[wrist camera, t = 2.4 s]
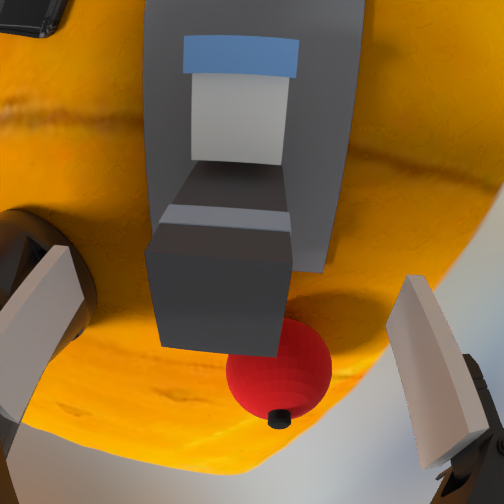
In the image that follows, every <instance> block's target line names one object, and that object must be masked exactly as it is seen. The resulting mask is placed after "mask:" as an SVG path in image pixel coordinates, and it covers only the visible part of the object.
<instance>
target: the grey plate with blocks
mask: <svg viewBox="0 0 504 504" xmlns="http://www.w3.org/2000/svg"><path fill="white" fill-rule="evenodd" d="M364 8H365V0H145V14H144V38H143V116H144V141H145V158H146V173H147V186H148V198H149V209H150V218H151V228H152V237H153V235H154V233H155V231H156V230H157V228H158V226H159V221H160V219H161V217H162V215H163V214H164V212H165V210H166V209H167V207H168V205H169V204H172V202H173V200H174V199H175V197H176V195H177V194H178V192H179V190H180V189H181V187H182V186H183V184H184V182H185V181H186V179H187V177H188V176H189V174H190V173H191V171H192V169H193V168H194V166H195V165H196V163H197V162H198V160H208V161H228V162H245V163H259V164H272V165H281V161H282V168H283V176H284V185H285V193H286V202H287V211H288V212H289V214H290V222H291V248H292V258H293V266H292V271H301V272H315V273H323V269H324V265H325V261H326V256H327V252H328V247H329V243H330V238H331V233H332V229H333V224H334V219H335V214H336V209H337V204H338V199H339V194H340V188H341V183H342V177H343V172H344V166H345V160H346V155H347V149H348V142H349V136H350V130H351V123H352V116H353V109H354V102H355V95H356V87H357V79H358V71H359V62H360V53H361V43H362V32H363V21H364Z"/></svg>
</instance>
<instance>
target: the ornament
mask: <svg viewBox="0 0 504 504" xmlns="http://www.w3.org/2000/svg"><path fill="white" fill-rule="evenodd" d="M331 376H332V360H331V357H330V353H329V350H328V348H327V346H326V344H325V342H324V341H323V339H322V338H321V337H320V336H319V334H317V333H316V332H315V331H314V330H313V329H312V328H310V327H309V326H307V325H305V324H303V323H301V322H299V321H296V320H293V319H287V318H284V319H283V324H282V330H281V335H280V341H279V346H278V351H277V356H276V357H262V356H247V355H234V354H229V355H228V359H227V363H226V377H227V382H228V386H229V389H230V391H231V393H232V394H233V396H234V398H235V400H236V401H237V402H238V403H239V404H240V405H241V406H242V407H243V408H244V409H245V410H246V411H248V412H250V413H251V414H253V415H255V416H257V417H259V418H262V419H267V420H268V425H269V426H270V427H271V428H274V429H285V428H287V427H288V426H289V425H290V424H291V419H294V418H297V417H300V416H302V415H304V414H306V413H307V412H309V411H310V410H312V409H313V408H314V407H315V406H316V405H317V404H318V403H319V402H320V401H321V400H322V398H323V397H324V395H325V393H326V392H327V390H328V387H329V384H330V381H331Z"/></svg>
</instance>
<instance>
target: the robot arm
mask: <svg viewBox="0 0 504 504" xmlns="http://www.w3.org/2000/svg"><path fill="white" fill-rule="evenodd" d="M96 304H97V295H96V289H95V285H94V281H93V279H92V276H91V274H90V271H89V269H88V267H87V266H86V264H85V262H84V260H83V259H82V257H81V256H80V254H79V253H78V252H77V250H76V249H75V248H74V246H73V245H72V244H71V243H70V242H69V241H68V240H67V239H66V238H65V237H64V236H63V235H62V234H61V233H60V232H59V231H58V230H57V229H56V228H54V227H53V226H52V225H50V224H49V223H48V222H46V221H44V220H43V219H41V218H39V217H37V216H35V215H33V214H30V213H28V212H24V211H19V210H9V211H4V212H2V213H0V504H19V502H18V499H17V496H16V493H15V490H14V487H13V484H12V481H11V477H10V474H9V470H8V467H7V462H6V459H7V456H8V453H9V451H10V448H11V445H12V443H13V440H14V437H15V435H16V433H17V430H18V427H19V425H20V423H21V420H22V418H23V416H24V413H25V411H26V409H27V406H28V404H29V402H30V400H31V397H32V395H33V393H34V391H35V389H36V386H37V384H38V382H39V380H40V378H41V376H42V374H43V372H44V370H45V368H46V366H47V365H48V363H49V362H50V361H51V360H53V359H54V358H55V357H56V356H57V355H58V354H59V353H60V352H61V351H62V350H63V349H64V348H65V347H66V346H67V345H68V344H69V343H70V342H71V341H73V340H75V339H76V338H78V337H79V336H80V335H81V334H82V333H83V332H84V331H85V329H86V328H87V326H88V324H89V322H90V320H91V318H92V316H93V314H94V312H95V309H96ZM385 327H386V330H387V333H388V336H389V340H390V343H391V346H392V350H393V353H394V357H395V360H396V364H397V367H398V371H399V374H400V378H401V382H402V385H403V389H404V393H405V397H406V401H407V405H408V409H409V413H410V418H411V422H412V427H413V431H414V435H415V440H416V445H417V450H418V455H419V460H420V466H421V470H426V469H432V468H436V467H440V466H442V465H443V464H444V463H446V462H447V461H449V460H451V465H452V466H451V467H449V468H448V469H447V470H445V471H443V472H442V473H440V474H439V475H438V476H437V478H436V480H439V479H441V478H442V477H444V478H443V480H442V481H441V484H440V486H439V488H438V490H437V492H436V494H435V496H434V497H433V499H432V501H431V503H430V504H504V428H503V427H502V424H501V422H500V419H499V416H498V413H497V411H496V408H495V405H494V402H493V400H492V397H491V395H490V392H489V390H487V384H486V382H485V380H483V375H482V372H481V370H480V368H479V365H478V364H477V363H476V361H475V360H474V359H473V358H472V357H471V355H470V354H462V353H461V351H460V349H459V347H458V344H457V342H456V340H455V338H454V335H453V333H452V331H451V329H450V327H449V325H448V323H447V321H446V319H445V317H444V315H443V312H442V310H441V308H440V306H439V304H438V302H437V300H436V298H435V296H434V294H433V292H432V290H431V289H430V287H429V285H428V283H427V281H426V279H425V277H424V276H422V275H407V276H406V278H405V281H404V283H403V286H402V288H401V291H400V293H399V295H398V298H397V300H396V302H395V305H394V307H393V309H392V312H391V314H390V316H389V318H388V321H387V323H386V325H385Z"/></svg>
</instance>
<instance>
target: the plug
mask: <svg viewBox="0 0 504 504" xmlns="http://www.w3.org/2000/svg"><path fill="white" fill-rule="evenodd" d="M144 253H145V260H146V267H147V273H148V279H149V285H150V291H151V296H152V302H153V307H154V312H155V317H156V322H157V327H158V332H159V337H160V342H161V346H162V347H169V348H177V349H185V350H194V351H203V352H213V353H223V354H234V355H247V356H262V357H276V356H277V351H278V346H279V341H280V335H281V330H282V324H283V319H284V313H285V308H286V302H287V296H288V290H289V284H290V278H291V272H292V266H293V258H292V248H291V222H290V214H289V212H288V211H287V202H286V193H285V185H284V176H283V168H282V161H281V165H272V164H259V163H245V162H228V161H208V160H198V162H197V163H196V165H195V166H194V168H193V169H192V171H191V173H190V174H189V176H188V177H187V179H186V181H185V182H184V184H183V186H182V187H181V189H180V190H179V192H178V194H177V195H176V197H175V199H174V200H173V202H172V204H169V205H168V207H167V209H166V210H165V212H164V214H163V215H162V217H161V219H160V221H159V226H158V228H157V230H156V231H155V233H154V235H153V237H152V239H151V240H150V242H149V244H148V246H147V248H146V249H145V251H144Z"/></svg>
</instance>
